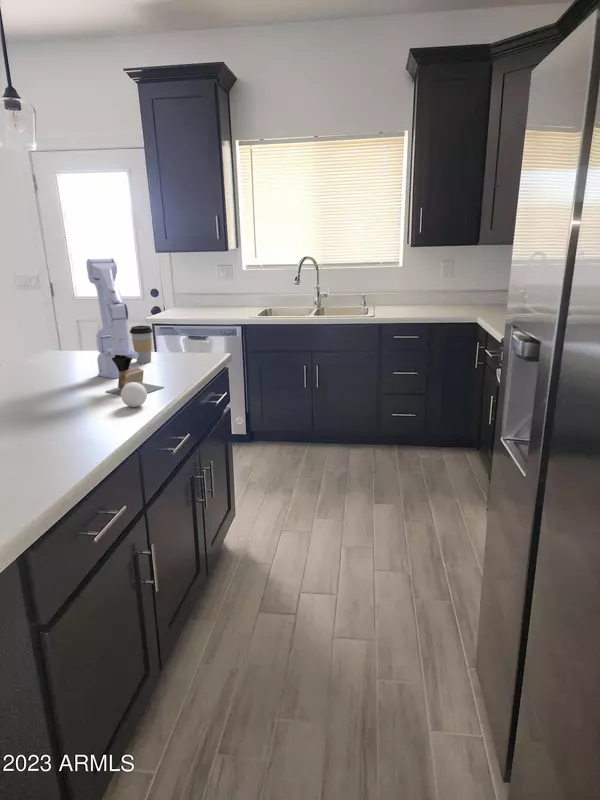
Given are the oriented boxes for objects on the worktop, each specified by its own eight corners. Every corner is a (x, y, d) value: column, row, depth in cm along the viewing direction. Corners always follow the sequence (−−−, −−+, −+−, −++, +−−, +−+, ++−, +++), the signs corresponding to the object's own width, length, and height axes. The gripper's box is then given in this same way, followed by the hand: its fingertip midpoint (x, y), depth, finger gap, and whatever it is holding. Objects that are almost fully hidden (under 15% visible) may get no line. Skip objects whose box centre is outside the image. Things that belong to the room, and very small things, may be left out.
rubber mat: (105, 392, 183) (105, 391, 183) (136, 382, 194) (136, 381, 194) (134, 398, 176) (133, 397, 176) (163, 387, 188) (163, 387, 188)
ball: (134, 412, 163) (132, 387, 160) (116, 408, 166) (113, 384, 164) (153, 405, 169) (151, 381, 167) (135, 401, 173) (133, 378, 171)
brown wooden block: (118, 387, 184) (119, 372, 182) (135, 381, 191) (136, 367, 188) (125, 391, 183) (126, 375, 180) (142, 385, 189) (143, 370, 187)
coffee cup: (145, 358, 232) (142, 324, 227) (160, 361, 227) (157, 326, 222) (128, 362, 224) (124, 327, 220) (142, 365, 219) (138, 329, 215)
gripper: (96, 338, 182) (101, 375, 186) (125, 342, 175) (129, 381, 179) (112, 335, 188) (117, 371, 192) (141, 339, 181) (145, 376, 185)
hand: (124, 376), depth 186 cm, fingers closed
